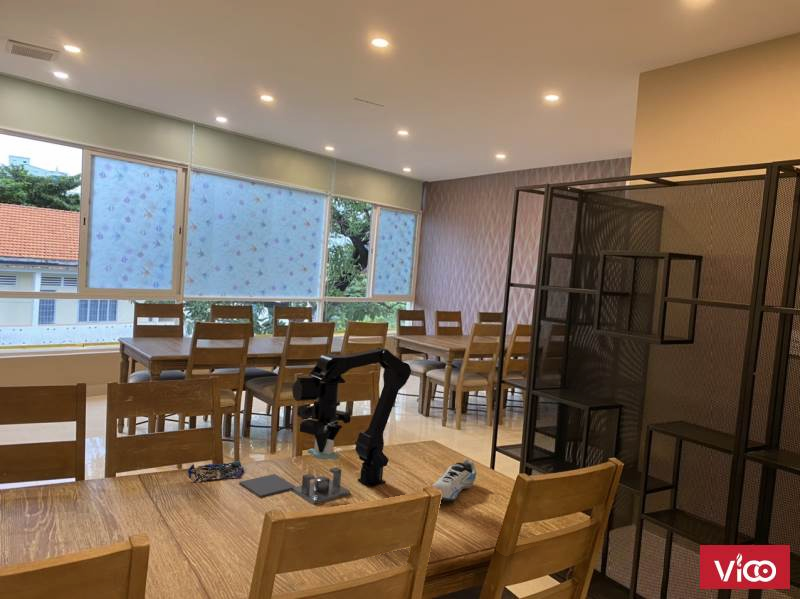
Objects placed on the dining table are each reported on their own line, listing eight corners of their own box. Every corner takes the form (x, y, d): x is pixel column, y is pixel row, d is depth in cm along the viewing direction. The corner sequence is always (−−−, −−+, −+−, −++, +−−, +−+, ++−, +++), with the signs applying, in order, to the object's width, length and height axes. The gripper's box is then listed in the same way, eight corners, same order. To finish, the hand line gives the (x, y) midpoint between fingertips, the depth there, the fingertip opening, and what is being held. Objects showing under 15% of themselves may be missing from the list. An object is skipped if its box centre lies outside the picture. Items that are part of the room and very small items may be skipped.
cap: (342, 456, 166) (343, 440, 166) (332, 462, 161) (333, 445, 161) (315, 449, 170) (316, 434, 170) (303, 455, 165) (305, 438, 165)
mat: (274, 475, 176) (274, 473, 176) (295, 488, 168) (295, 486, 168) (239, 483, 168) (239, 481, 168) (259, 497, 160) (259, 495, 159)
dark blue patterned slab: (190, 485, 166) (191, 480, 166) (186, 469, 177) (186, 464, 177) (247, 479, 174) (247, 474, 174) (239, 464, 185) (239, 459, 184)
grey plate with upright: (327, 481, 175) (329, 462, 174) (349, 494, 167) (351, 474, 167) (291, 491, 166) (293, 471, 165) (313, 504, 158) (315, 483, 158)
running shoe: (419, 503, 164) (421, 473, 164) (454, 479, 186) (456, 452, 186) (446, 511, 160) (449, 480, 160) (479, 486, 182) (481, 458, 181)
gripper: (322, 388, 177) (318, 437, 178) (285, 399, 160) (281, 453, 161) (353, 394, 172) (349, 445, 173) (318, 405, 155) (314, 461, 156)
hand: (323, 450), depth 166 cm, fingers closed on cap, 2 cm apart
